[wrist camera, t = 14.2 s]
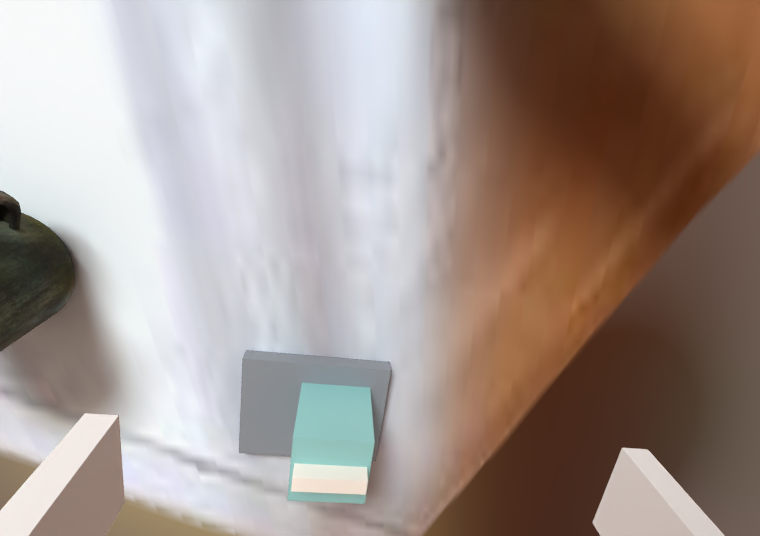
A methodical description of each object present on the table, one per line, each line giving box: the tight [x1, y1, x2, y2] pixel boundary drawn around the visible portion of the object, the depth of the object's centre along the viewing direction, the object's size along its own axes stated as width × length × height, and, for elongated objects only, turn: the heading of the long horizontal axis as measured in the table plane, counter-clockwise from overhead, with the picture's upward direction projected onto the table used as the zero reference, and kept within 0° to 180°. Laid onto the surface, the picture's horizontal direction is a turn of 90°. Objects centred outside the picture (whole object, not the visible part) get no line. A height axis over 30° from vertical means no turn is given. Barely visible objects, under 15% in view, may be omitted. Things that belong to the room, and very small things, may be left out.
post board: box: [239, 350, 391, 461], centre depth 42 cm, size 11×14×6 cm
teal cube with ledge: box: [288, 383, 375, 504], centre depth 39 cm, size 7×7×9 cm
